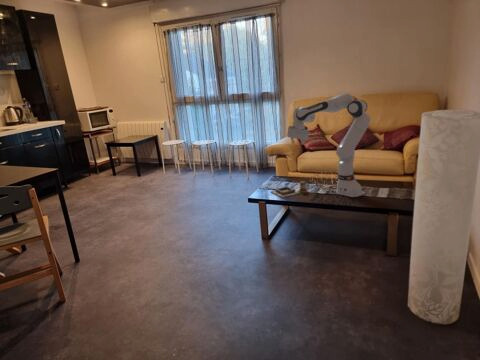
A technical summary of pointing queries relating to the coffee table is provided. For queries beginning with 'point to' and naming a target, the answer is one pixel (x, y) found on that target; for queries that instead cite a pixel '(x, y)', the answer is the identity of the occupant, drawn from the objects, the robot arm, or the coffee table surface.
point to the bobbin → (302, 187)
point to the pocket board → (285, 192)
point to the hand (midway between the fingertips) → (297, 143)
